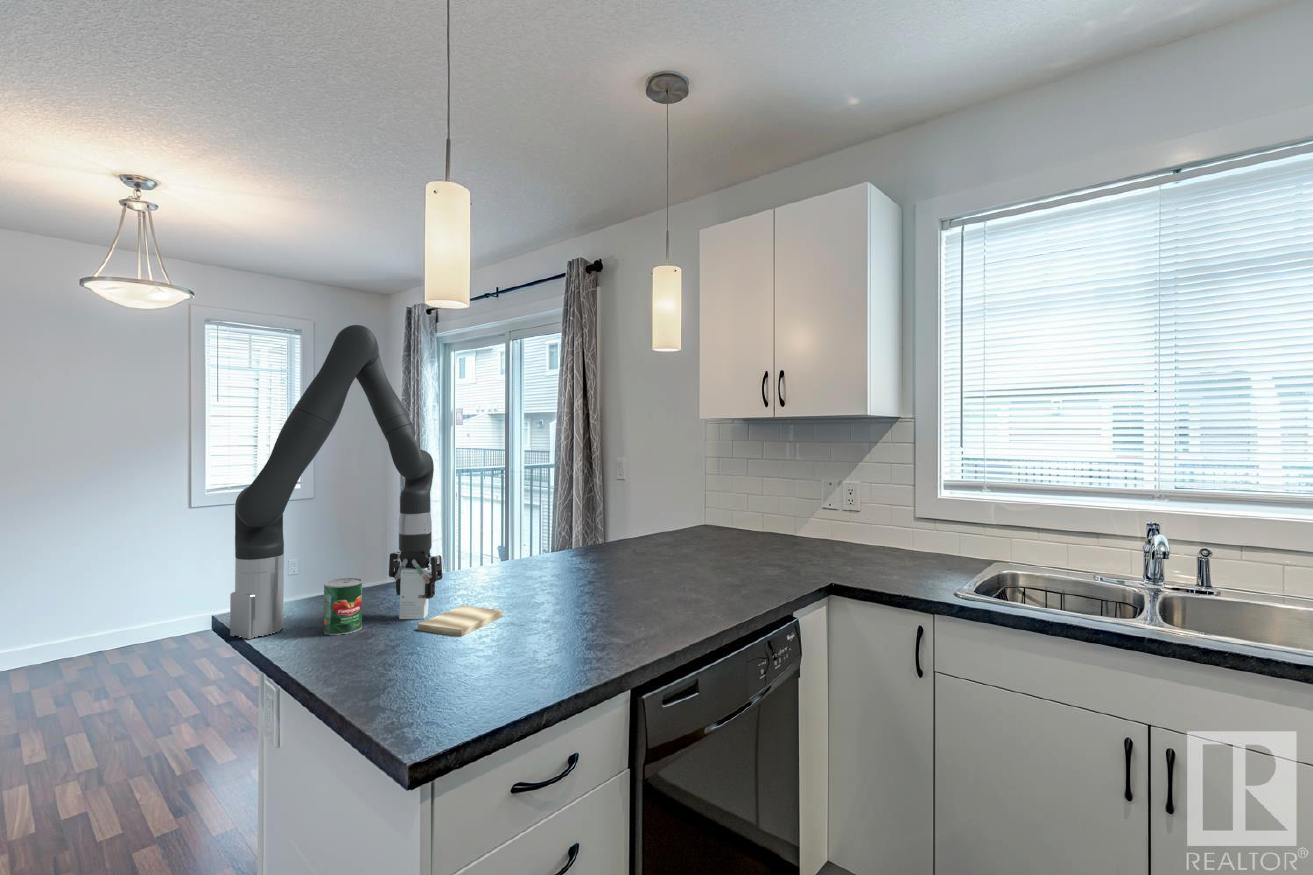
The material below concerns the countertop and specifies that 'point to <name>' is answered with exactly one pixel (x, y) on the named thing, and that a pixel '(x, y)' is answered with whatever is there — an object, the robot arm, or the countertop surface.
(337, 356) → the robot arm
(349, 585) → the canned tomato
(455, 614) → the birch board
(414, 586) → the skincare box
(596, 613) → the countertop surface
